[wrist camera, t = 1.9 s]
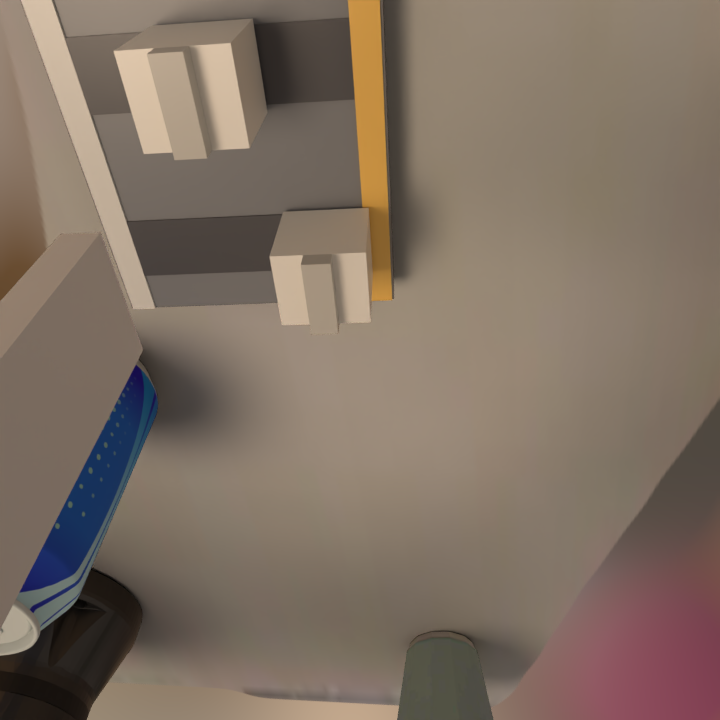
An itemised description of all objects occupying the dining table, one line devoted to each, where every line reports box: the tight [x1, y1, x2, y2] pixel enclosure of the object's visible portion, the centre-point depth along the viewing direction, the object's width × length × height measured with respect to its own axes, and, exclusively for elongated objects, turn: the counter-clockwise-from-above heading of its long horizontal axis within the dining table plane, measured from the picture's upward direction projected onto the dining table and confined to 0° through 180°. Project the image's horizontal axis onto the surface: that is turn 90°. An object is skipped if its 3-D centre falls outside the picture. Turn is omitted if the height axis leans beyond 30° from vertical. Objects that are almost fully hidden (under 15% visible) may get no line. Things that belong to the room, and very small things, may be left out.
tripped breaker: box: [114, 18, 267, 160], centre depth 23 cm, size 4×4×5 cm
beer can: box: [0, 360, 158, 656], centre depth 32 cm, size 8×8×16 cm
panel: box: [20, 0, 394, 335], centre depth 24 cm, size 14×23×7 cm, turn 4°
